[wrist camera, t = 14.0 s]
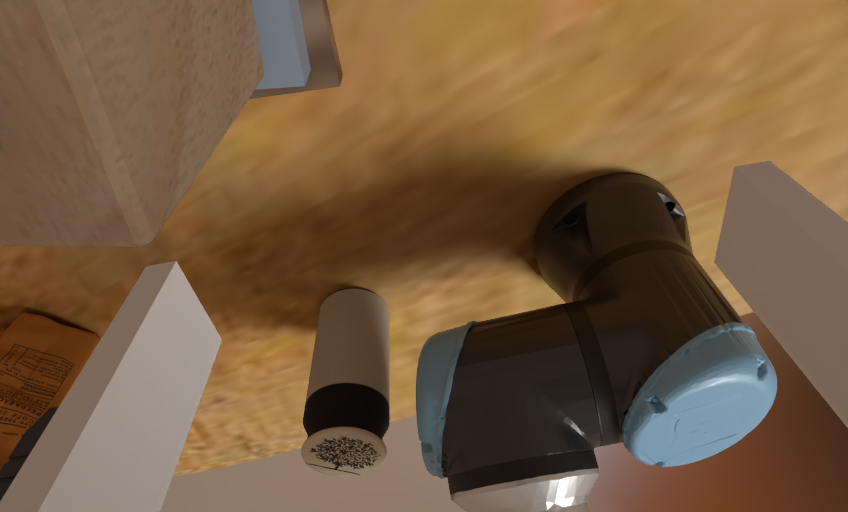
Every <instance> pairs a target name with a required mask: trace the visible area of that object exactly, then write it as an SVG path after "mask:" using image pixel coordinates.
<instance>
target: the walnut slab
mask: <svg viewBox="0 0 848 512" xmlns="http://www.w3.org/2000/svg"><path fill="white" fill-rule="evenodd" d="M298 3H299V8H300V14H301V19H302V25H303V30H304V36H305V41H306V46H307V52H308V57H309V63H310V68H311V71H310V74H309V76H308V79H307V82H306V85H305V86H300V87H286V88H271V89H257V90H254V92H253V93H252V95H251V96H250V98H249V99H253V98H260V97H267V96H274V95H281V94H288V93H296V92H303V91H310V90H317V89H324V88H332V87H339V86H340V84H341V80H342V75H343V74H342V70H341V65H340V61H339V56H338V52H337V47H336V42H335V38H334V33H333V29H332V24H331V20H330V15H329V10H328V6H327V1H326V0H298Z"/></svg>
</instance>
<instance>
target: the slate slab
mask: <svg viewBox="0 0 848 512" xmlns="http://www.w3.org/2000/svg"><path fill="white" fill-rule="evenodd" d="M252 4H253V10H254V16H255V21H256V27H257V33H258V38H259V44H260V50H261V55H262V61H263V67H264V77H263V79H262V80H261V82H260V83H259V85H258V86H257V87H256V89H255V90H257V89H271V88H286V87H300V86H305V85H306V82H307V79H308V76H309V74H310V71H311V68H310V63H309V57H308V52H307V46H306V41H305V36H304V30H303V25H302V19H301V14H300V8H299V3H298V0H252Z"/></svg>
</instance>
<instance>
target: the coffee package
mask: <svg viewBox="0 0 848 512" xmlns="http://www.w3.org/2000/svg"><path fill="white" fill-rule="evenodd" d="M99 341H100V338H99V337H98V336H97V335H95V334H94V333H91V332H86V331H83V330H80V329H77V328H73V327H69V326H65V325H62V324H60V323H57V322H55V321H53V320H51V319H50V318H47V317H45V316H41V315H35V314H30V313H26V312H24V313H22V314H20V315H19V316H18V317H17V318H16V319H15V321H14V322H13V323H12V324H11V325H10V326H9V327H8V328H7V329H6V330H5V331H4V332H3V334H2V335H1V336H0V470H1V468H2V467H3V465H4V464H5V463H7V462H9V456H10V455H11V453H12V452H13V450H14V448H15V447H16V445H17V444H18V442H19V441H20V439H21V438H22V436H23V435H24V433H25V432H26V431H27V430H28V429H29V428H30V427H31V426H32V425H33V424H34V423H35V422H36V421H37V420H38V419H39V418H40V417H41V416H42V415H43V414H44V413H45V412H46V411H47V410H48V409H49V408H52V407H58V406H60V404H61V403H62V401H63V399H64V398H65V396H66V395H67V393H68V391H69V390H70V388H71V387H72V385H73V383H74V382H75V380H76V378H77V377H78V375H79V374H80V372H81V370H82V369H83V367H84V366H85V364H86V362H87V361H88V359H89V357H90V356H91V354H92V353H93V351H94V349H95V348H96V346H97V345H98V343H99Z"/></svg>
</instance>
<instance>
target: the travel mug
mask: <svg viewBox="0 0 848 512" xmlns="http://www.w3.org/2000/svg"><path fill="white" fill-rule="evenodd" d="M303 425H304V428H305V430H306V432H307V434H308V438H307V440H306V441H305V442H304V444H303V446H302V449H301V454H302V457H303V460H304V461H305V463H306V464H307V465H308V466H309V467H311V468H312V469H314V470H316V471H318V472H320V473H323V474H326V475H331V476H338V477H350V476H358V475H362V474H365V473H368V472H370V471H373V470H374V469H376V468H378V467H379V466H380V465H381V464H382V463H383V461H384V460H385V458H386V454H387V450H386V446H385V444H384V442H383V440H382V437H383V436H384V434H385V433H386V431H387V429H388V427H389V309H388V306H387V304H386V303H385V302H384V300H383V299H382V298H380V297H379V296H378V295H376V294H374V293H372V292H370V291H366V290H362V289H345V290H341V291H338V292H335V293H333V294H331V295H330V296H328V297H327V298H326V299H325V300H324V302H323V303H322V305H321V307H320V312H319V318H318V325H317V332H316V338H315V345H314V351H313V358H312V365H311V371H310V378H309V384H308V391H307V398H306V404H305V411H304V417H303Z"/></svg>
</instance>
